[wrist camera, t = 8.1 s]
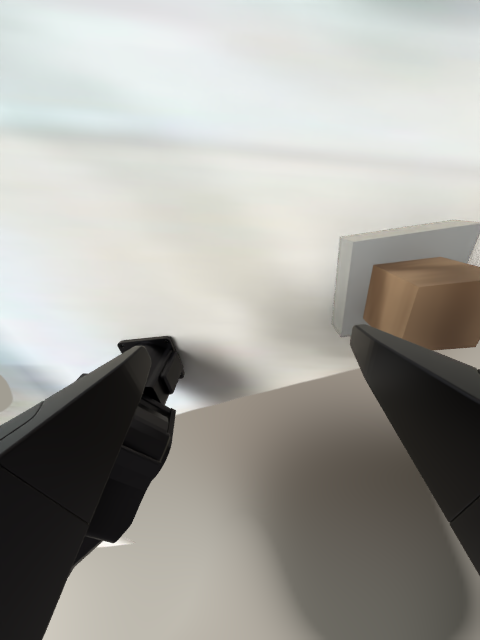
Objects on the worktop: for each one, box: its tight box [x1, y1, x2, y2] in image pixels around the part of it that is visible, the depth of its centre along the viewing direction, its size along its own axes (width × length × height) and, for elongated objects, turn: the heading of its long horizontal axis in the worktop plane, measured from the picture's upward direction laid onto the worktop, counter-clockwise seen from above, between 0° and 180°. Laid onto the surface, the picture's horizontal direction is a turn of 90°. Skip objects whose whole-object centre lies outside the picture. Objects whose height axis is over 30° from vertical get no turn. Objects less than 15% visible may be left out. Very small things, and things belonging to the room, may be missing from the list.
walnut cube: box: [363, 257, 480, 350], centre depth 15 cm, size 5×5×5 cm
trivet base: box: [332, 220, 480, 337], centre depth 18 cm, size 9×9×3 cm
